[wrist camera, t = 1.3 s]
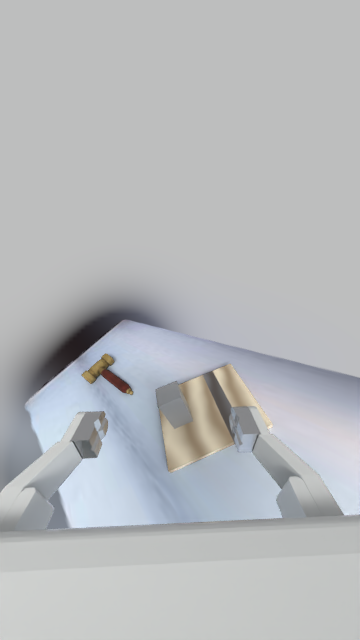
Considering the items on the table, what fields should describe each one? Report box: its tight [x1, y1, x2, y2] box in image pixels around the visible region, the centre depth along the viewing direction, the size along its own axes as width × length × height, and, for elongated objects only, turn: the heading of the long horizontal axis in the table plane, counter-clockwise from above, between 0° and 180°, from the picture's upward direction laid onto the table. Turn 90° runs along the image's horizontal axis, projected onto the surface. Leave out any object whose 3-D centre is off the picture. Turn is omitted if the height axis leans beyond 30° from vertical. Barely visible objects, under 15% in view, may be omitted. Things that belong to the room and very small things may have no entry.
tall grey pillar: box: [156, 381, 193, 429], centre depth 33 cm, size 4×4×11 cm
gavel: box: [82, 354, 133, 395], centre depth 51 cm, size 21×5×10 cm
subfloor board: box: [159, 364, 273, 473], centre depth 37 cm, size 22×16×2 cm
